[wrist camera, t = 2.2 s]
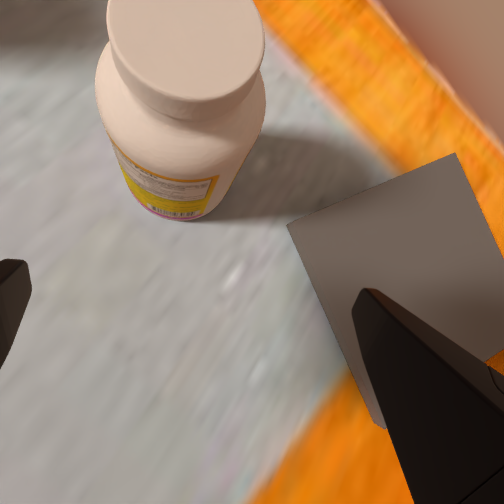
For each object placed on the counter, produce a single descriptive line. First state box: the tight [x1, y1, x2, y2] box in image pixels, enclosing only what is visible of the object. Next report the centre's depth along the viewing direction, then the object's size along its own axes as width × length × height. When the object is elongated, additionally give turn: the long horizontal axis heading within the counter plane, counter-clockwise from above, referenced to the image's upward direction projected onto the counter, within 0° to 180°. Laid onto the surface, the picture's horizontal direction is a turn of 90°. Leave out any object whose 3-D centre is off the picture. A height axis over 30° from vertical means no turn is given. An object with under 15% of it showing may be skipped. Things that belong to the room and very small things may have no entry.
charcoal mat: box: [286, 153, 504, 429], centre depth 25 cm, size 15×15×1 cm
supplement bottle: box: [95, 0, 266, 221], centre depth 16 cm, size 7×7×13 cm
